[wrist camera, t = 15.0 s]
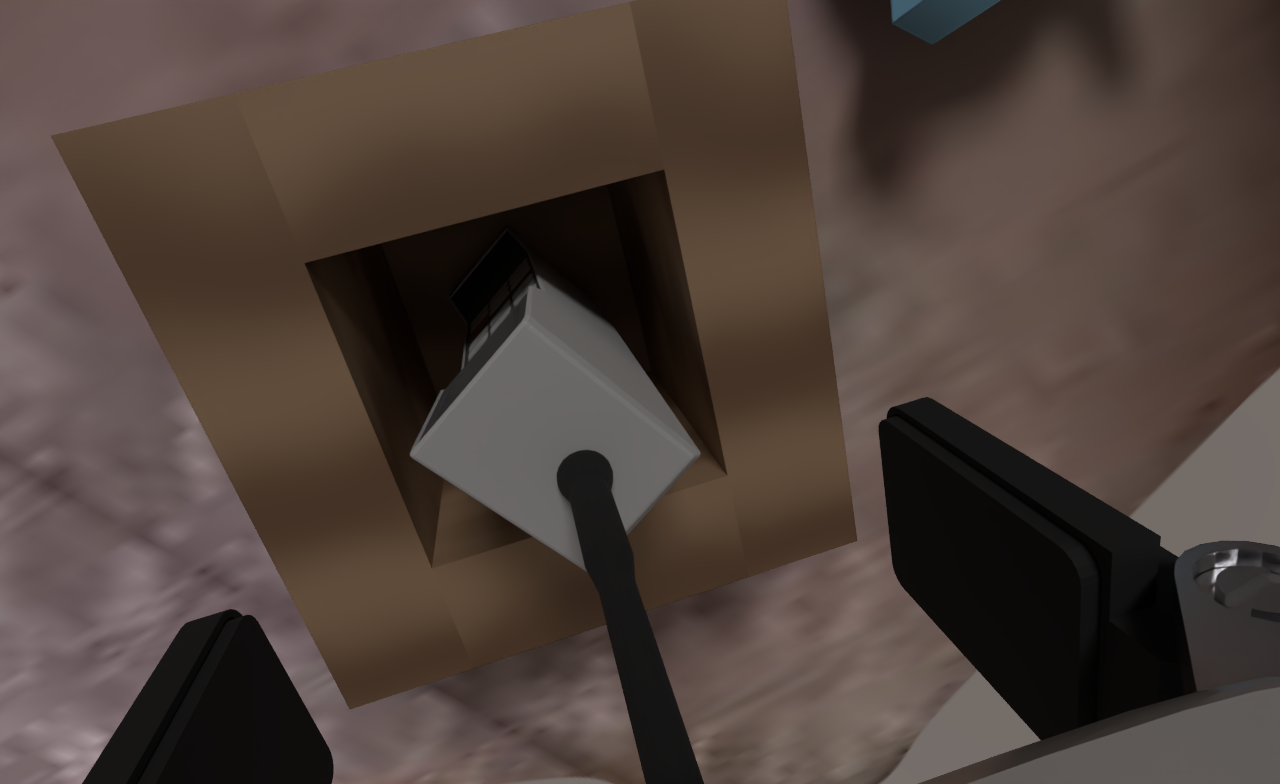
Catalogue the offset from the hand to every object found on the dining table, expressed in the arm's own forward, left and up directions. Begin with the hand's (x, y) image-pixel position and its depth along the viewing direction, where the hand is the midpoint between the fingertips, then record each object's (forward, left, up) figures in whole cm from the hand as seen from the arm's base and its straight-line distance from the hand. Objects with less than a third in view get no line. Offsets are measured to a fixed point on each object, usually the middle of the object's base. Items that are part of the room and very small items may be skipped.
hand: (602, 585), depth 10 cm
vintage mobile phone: (0, 0, -21) cm, 21 cm away
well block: (0, 0, -22) cm, 22 cm away
